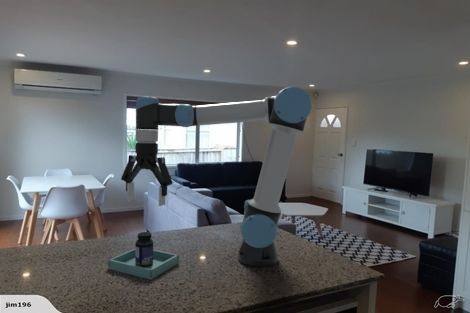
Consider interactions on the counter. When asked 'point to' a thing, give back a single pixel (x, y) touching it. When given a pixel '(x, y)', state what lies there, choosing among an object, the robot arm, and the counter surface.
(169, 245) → the counter surface
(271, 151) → the robot arm
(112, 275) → the counter surface
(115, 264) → the tray
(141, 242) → the pill bottle
